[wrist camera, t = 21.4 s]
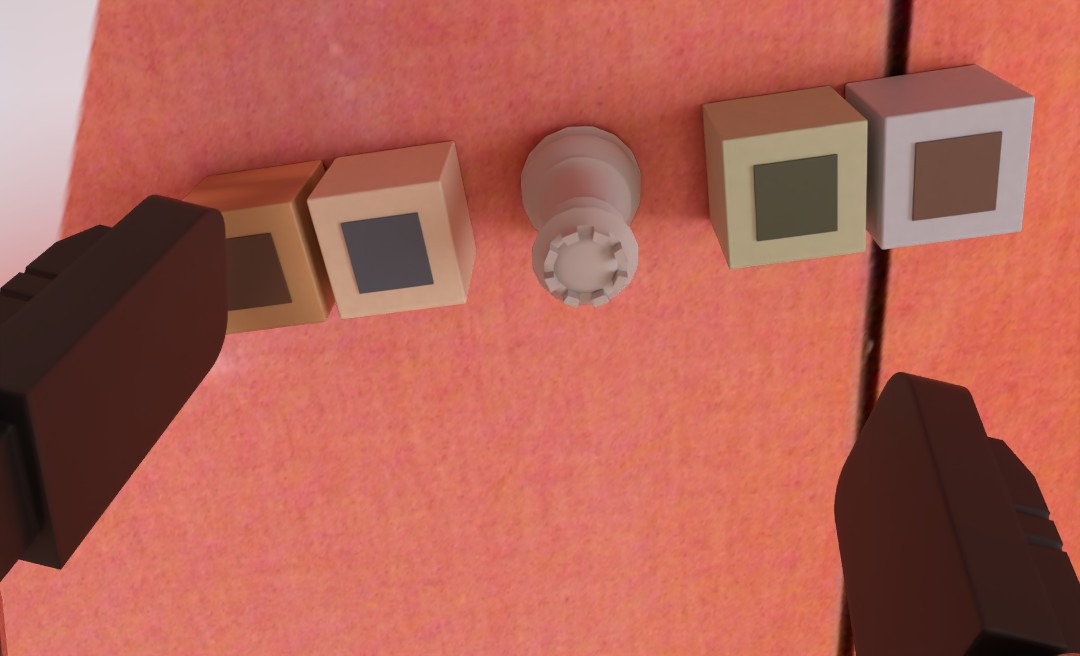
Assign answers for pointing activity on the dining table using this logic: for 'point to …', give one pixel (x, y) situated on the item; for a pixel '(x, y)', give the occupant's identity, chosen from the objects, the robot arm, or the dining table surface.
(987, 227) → the block
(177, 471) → the dining table surface
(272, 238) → the block
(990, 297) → the dining table surface
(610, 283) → the rook chess piece
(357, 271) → the block
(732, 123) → the block
